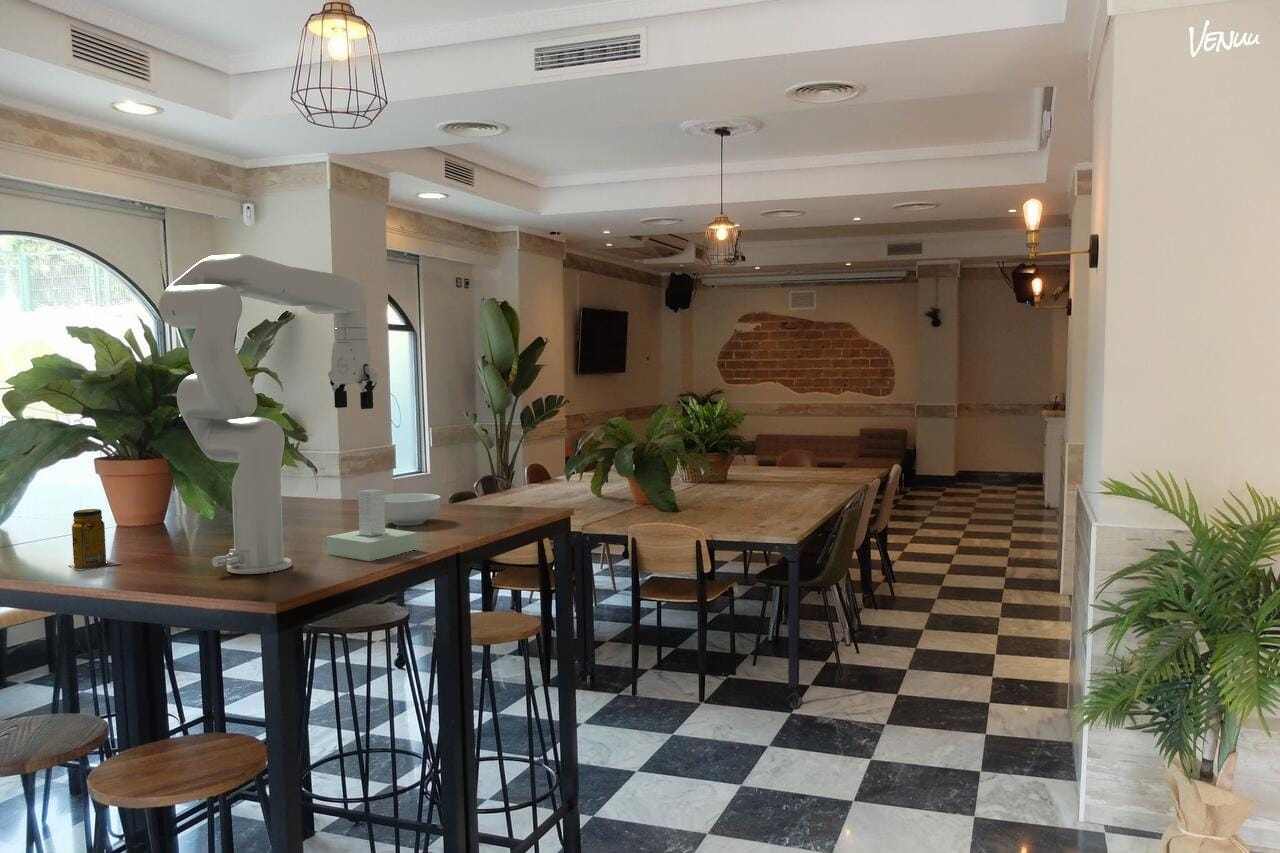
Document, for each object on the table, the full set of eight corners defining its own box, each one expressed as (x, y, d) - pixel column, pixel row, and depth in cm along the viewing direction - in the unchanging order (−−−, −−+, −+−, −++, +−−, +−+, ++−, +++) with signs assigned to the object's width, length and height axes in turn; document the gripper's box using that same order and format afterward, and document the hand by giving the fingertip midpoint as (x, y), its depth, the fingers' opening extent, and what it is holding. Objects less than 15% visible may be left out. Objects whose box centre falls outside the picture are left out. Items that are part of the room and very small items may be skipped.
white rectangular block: (371, 554, 214) (370, 492, 213) (359, 552, 216) (357, 491, 215) (385, 551, 217) (384, 490, 216) (373, 549, 219) (372, 488, 218)
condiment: (68, 566, 205) (65, 510, 204) (112, 560, 210) (109, 505, 209) (77, 571, 199) (74, 514, 198) (121, 565, 205) (119, 509, 204)
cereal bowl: (425, 529, 244) (424, 502, 244) (364, 528, 248) (364, 500, 247) (451, 518, 261) (450, 492, 260) (394, 517, 264) (393, 491, 264)
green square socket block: (369, 561, 207) (368, 542, 206) (327, 554, 214) (326, 536, 214) (417, 550, 218) (417, 532, 218) (376, 543, 226) (375, 526, 226)
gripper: (315, 336, 229) (318, 408, 230) (361, 335, 219) (364, 410, 220) (341, 336, 235) (344, 406, 236) (387, 335, 225) (390, 408, 226)
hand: (353, 408), depth 228 cm, fingers open, 9 cm apart
